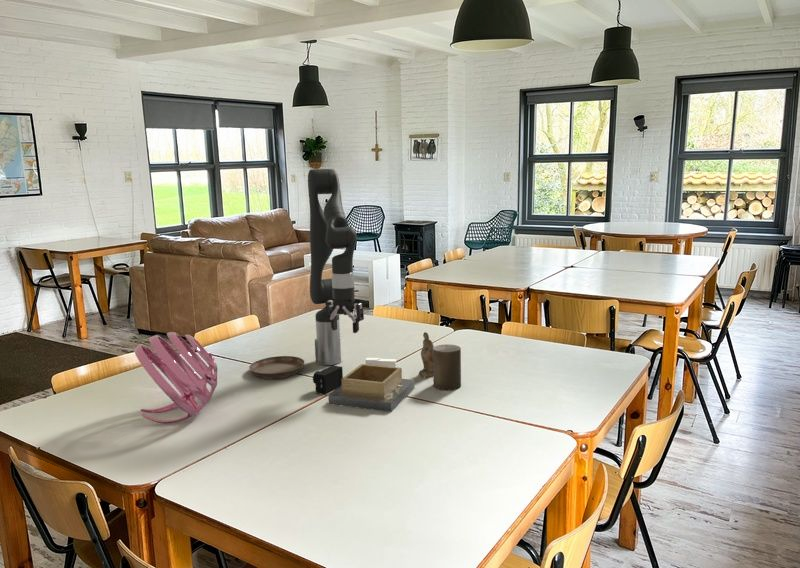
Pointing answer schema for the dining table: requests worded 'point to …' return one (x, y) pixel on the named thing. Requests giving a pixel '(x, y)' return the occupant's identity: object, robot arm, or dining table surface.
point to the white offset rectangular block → (381, 362)
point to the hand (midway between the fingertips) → (345, 331)
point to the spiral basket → (179, 373)
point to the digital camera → (328, 379)
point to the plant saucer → (277, 367)
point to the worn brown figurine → (427, 356)
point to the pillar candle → (447, 367)
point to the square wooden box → (372, 388)
